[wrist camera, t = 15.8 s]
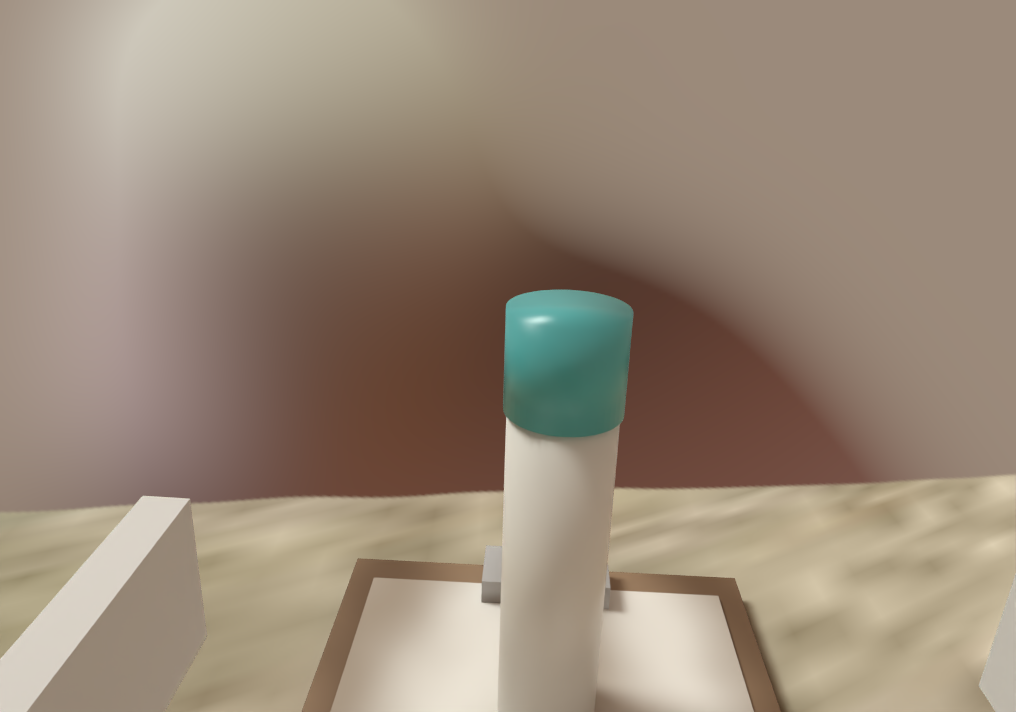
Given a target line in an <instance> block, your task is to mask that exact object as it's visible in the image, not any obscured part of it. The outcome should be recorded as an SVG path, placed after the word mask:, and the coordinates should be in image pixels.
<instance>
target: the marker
mask: <svg viewBox="0 0 1016 712" xmlns="http://www.w3.org/2000/svg"><path fill="white" fill-rule="evenodd" d="M632 321H633V310H632V308H631V307H630V306H629V305H628V304H626V303H624V302H623V301H621V300H619V299H616V298H613V297H610V296H606V295H603V294H598V293H593V292H586V291H577V290H543V291H535V292H529V293H525V294H521V295H519V296H516V297H514V298H512V299H511V300H509V301H508V303H507V305H506V327H505V329H506V330H505V361H504V362H505V363H504V395H503V411H504V414H505V415H506V445H505V477H504V509H503V541H502V573H501V605H500V637H499V669H498V701H497V712H594V710H595V699H596V688H597V676H598V665H599V654H600V642H601V631H602V620H603V608H604V597H605V586H606V574H607V563H608V552H609V540H610V529H611V518H612V506H613V495H614V483H615V472H616V461H617V450H618V438H619V427H620V423H621V422H622V420H623V418H624V410H625V400H626V389H627V378H628V367H629V356H630V345H631V334H632V323H633V322H632Z"/></svg>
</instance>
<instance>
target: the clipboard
mask: <svg viewBox="0 0 1016 712" xmlns="http://www.w3.org/2000/svg"><path fill="white" fill-rule="evenodd" d="M501 573H502V546H486V551H485V559H484V565H472V564H452V563H433V562H414V561H395V560H376V559H357V562H356V565H355V568H354V570H353V573H352V576H351V579H350V581H349V584H348V587H347V589H346V592H345V595H344V598H343V600H342V603H341V606H340V608H339V611H338V614H337V617H336V619H335V622H334V625H333V628H332V630H331V633H330V636H329V638H328V641H327V644H326V647H325V649H324V652H323V655H322V658H321V660H320V663H319V666H318V668H317V671H316V674H315V677H314V679H313V682H312V685H311V687H310V690H309V693H308V696H307V698H306V701H305V704H304V707H303V709H302V712H497V701H498V669H499V637H500V605H501ZM594 712H781V710H780V707H779V705H778V702H777V699H776V696H775V693H774V690H773V687H772V684H771V682H770V679H769V676H768V673H767V670H766V667H765V664H764V661H763V659H762V656H761V653H760V650H759V647H758V644H757V641H756V638H755V636H754V633H753V630H752V627H751V624H750V621H749V618H748V615H747V613H746V610H745V607H744V604H743V601H742V598H741V595H740V592H739V590H738V587H737V584H736V581H735V578H719V577H700V576H681V575H662V574H643V573H624V572H609V570H608V563H607V574H606V586H605V597H604V608H603V620H602V631H601V642H600V654H599V665H598V676H597V688H596V699H595V710H594Z"/></svg>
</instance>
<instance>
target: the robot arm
mask: <svg viewBox="0 0 1016 712" xmlns="http://www.w3.org/2000/svg"><path fill="white" fill-rule="evenodd" d="M206 637H207V631H206V623H205V615H204V607H203V599H202V591H201V583H200V575H199V567H198V559H197V551H196V543H195V535H194V527H193V519H192V511H191V503H190V499H187V498H169V497H153V496H142V497H141V498H140V500H139V501H138V502H137V503H136V504H135V505H134V506H133V508H132V509H131V510H130V511H129V512H128V513H127V515H126V516H125V517H124V518H123V519H122V520H121V521H120V523H119V524H118V525H117V526H116V527H115V528H114V529H113V531H112V532H111V533H110V534H109V535H108V536H107V537H106V539H105V540H104V541H103V542H102V543H101V544H100V545H99V547H98V548H97V549H96V550H95V551H94V552H93V553H92V555H91V556H90V557H89V558H88V559H87V560H86V561H85V563H84V564H83V565H82V566H81V567H80V568H79V569H78V571H77V572H76V573H75V574H74V575H73V576H72V577H71V579H70V580H69V581H68V582H67V583H66V584H65V586H64V587H63V588H62V589H61V590H60V591H59V592H58V594H57V595H56V596H55V597H54V598H53V599H52V600H51V602H50V603H49V604H48V605H47V606H46V607H45V608H44V610H43V611H42V612H41V613H40V614H39V615H38V616H37V618H36V619H35V620H34V621H33V622H32V623H31V624H30V626H29V627H28V628H27V629H26V630H25V631H24V632H23V634H22V635H21V636H20V637H19V638H18V639H17V640H16V642H15V643H14V644H13V645H12V646H11V647H10V648H9V650H8V651H7V652H6V653H5V654H4V655H3V657H2V658H1V659H0V712H165V710H166V708H167V706H168V705H169V703H170V701H171V699H172V698H173V696H174V694H175V692H176V691H177V689H178V687H179V685H180V683H181V682H182V680H183V678H184V676H185V675H186V673H187V671H188V669H189V667H190V666H191V664H192V662H193V660H194V659H195V657H196V655H197V653H198V652H199V650H200V648H201V646H202V644H203V643H204V641H205V639H206ZM979 687H980V689H981V690H982V692H983V693H984V695H985V696H986V698H987V699H988V701H989V702H990V704H991V705H992V707H993V708H994V710H995V711H996V712H1016V575H1015V578H1014V581H1013V584H1012V587H1011V590H1010V593H1009V596H1008V599H1007V602H1006V605H1005V608H1004V611H1003V614H1002V617H1001V620H1000V623H999V626H998V629H997V632H996V635H995V638H994V641H993V644H992V647H991V650H990V653H989V656H988V659H987V662H986V665H985V668H984V671H983V674H982V677H981V680H980V683H979Z"/></svg>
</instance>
